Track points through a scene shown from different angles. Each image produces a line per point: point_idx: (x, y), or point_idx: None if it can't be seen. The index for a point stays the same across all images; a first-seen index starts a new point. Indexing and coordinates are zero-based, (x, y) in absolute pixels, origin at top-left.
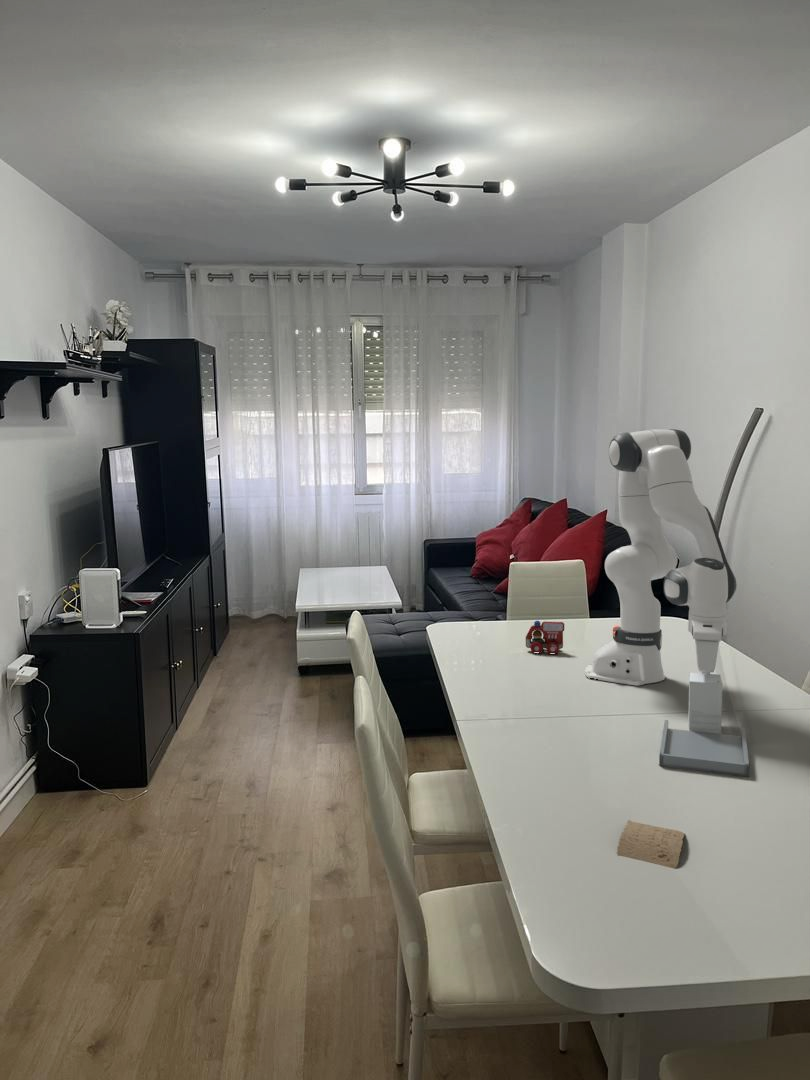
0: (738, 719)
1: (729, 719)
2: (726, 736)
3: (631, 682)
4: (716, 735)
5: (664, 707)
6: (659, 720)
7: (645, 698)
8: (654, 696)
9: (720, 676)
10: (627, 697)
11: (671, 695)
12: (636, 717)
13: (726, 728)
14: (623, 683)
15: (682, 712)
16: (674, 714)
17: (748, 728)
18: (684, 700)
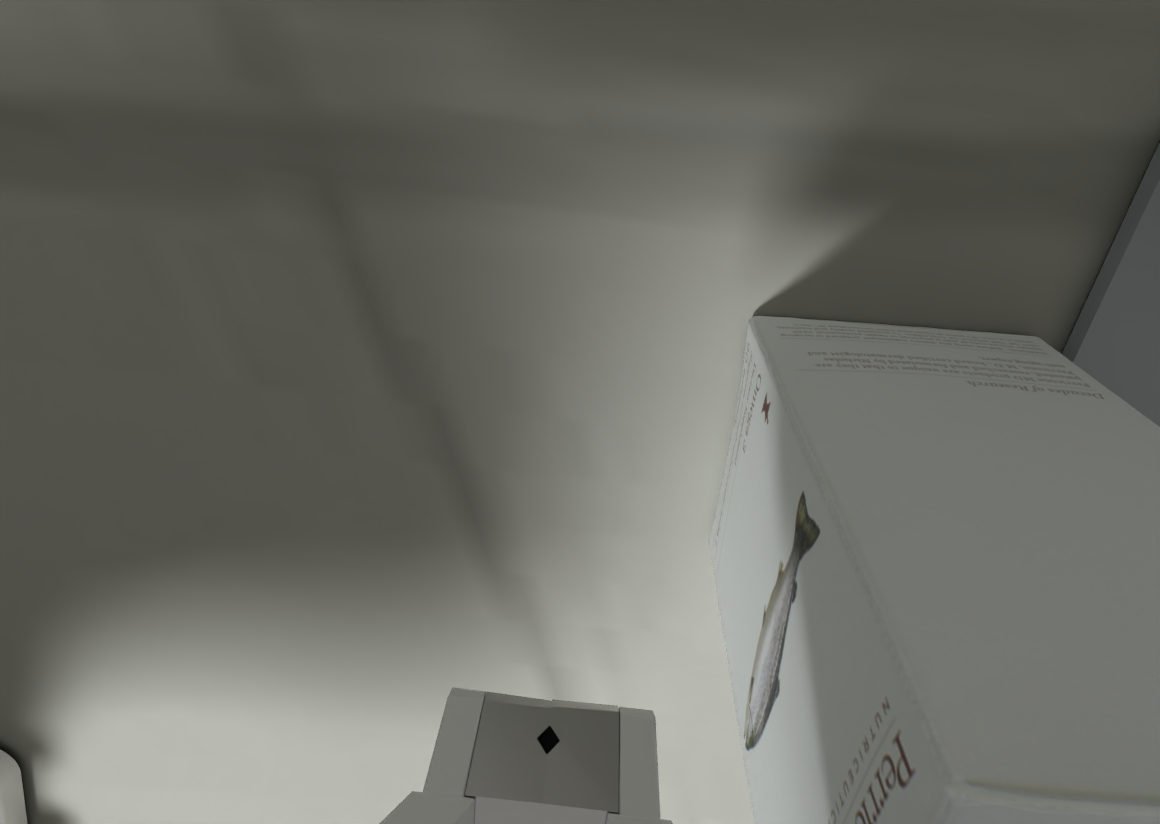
0: (558, 92)
1: (579, 193)
2: (1148, 304)
3: (7, 803)
4: (1109, 387)
5: (413, 652)
6: (707, 698)
7: (261, 734)
8: (187, 686)
9: (1138, 818)
10: (290, 812)
11: (98, 589)
12: (670, 797)
13: (852, 259)
14: (25, 821)
15: (491, 556)
16: (554, 608)
17: (841, 15)
18: (176, 515)
